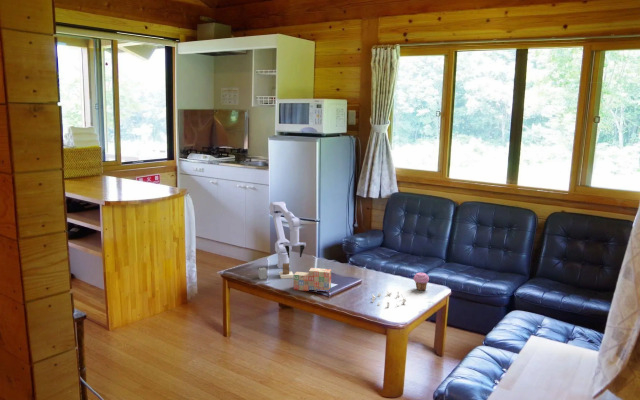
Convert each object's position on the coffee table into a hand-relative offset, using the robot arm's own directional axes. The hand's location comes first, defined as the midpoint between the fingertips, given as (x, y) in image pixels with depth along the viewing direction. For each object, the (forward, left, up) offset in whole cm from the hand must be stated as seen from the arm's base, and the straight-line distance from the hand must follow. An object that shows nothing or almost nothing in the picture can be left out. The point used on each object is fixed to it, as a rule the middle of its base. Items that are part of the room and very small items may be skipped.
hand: (294, 257), depth 340 cm
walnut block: (+7, -6, -8) cm, 13 cm away
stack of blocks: (+34, +7, -11) cm, 36 cm away
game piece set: (+59, +46, -11) cm, 75 cm away
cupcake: (+43, +70, -11) cm, 83 cm away
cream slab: (+7, -6, -11) cm, 14 cm away
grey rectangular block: (+8, -21, -10) cm, 25 cm away
